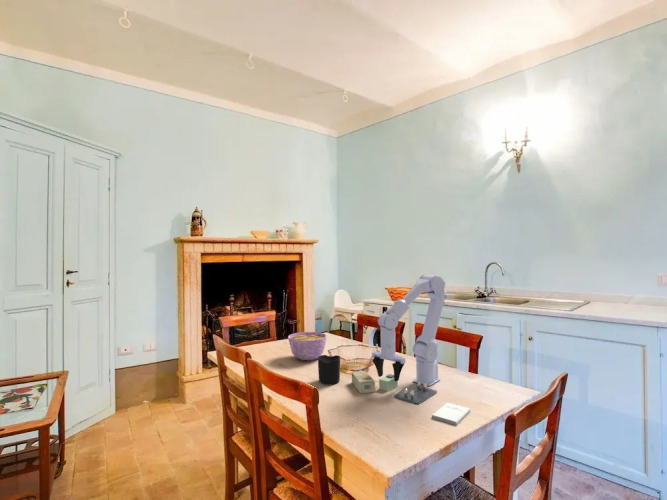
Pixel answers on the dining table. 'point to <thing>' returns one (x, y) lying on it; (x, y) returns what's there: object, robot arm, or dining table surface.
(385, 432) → the dining table surface
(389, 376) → the green block
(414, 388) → the plate
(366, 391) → the skincare box
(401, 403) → the dining table surface
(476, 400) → the dining table surface
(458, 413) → the external hard drive
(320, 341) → the bowl of food
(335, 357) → the pen holder
